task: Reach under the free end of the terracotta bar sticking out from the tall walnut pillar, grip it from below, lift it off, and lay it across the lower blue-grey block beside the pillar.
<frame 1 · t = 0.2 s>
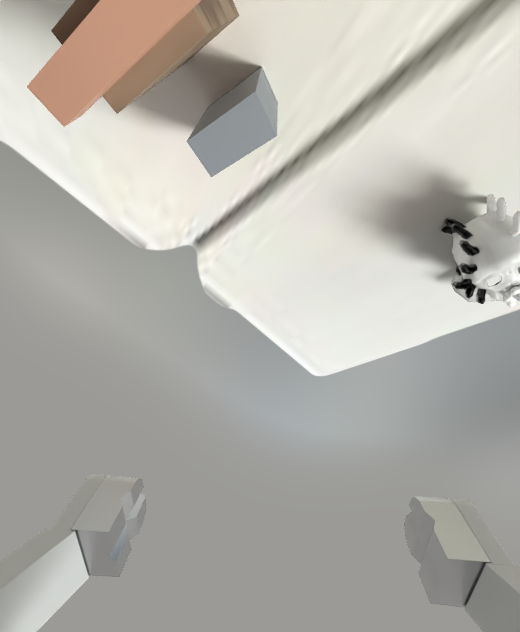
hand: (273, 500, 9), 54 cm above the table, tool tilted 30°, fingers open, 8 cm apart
blue-grey block: (242, 104, 46), on the table
bar: (157, 2, 20), point 26 cm above the table, touching pillar
figurine: (476, 239, 62), on the table
pillar: (196, 14, 39), on the table
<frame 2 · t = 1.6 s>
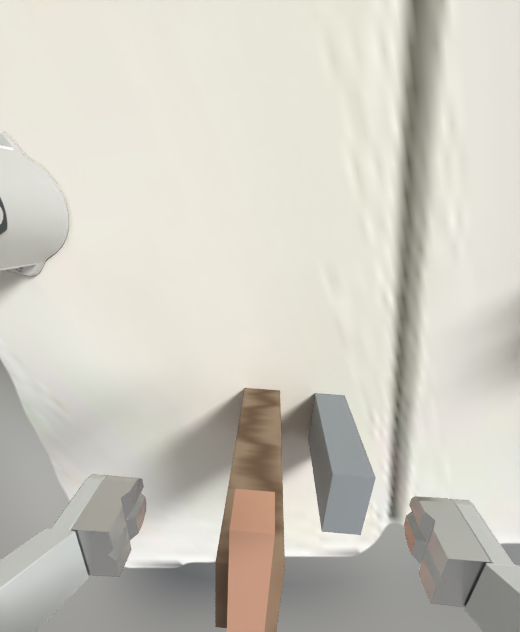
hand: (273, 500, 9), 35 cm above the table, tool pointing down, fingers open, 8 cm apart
blue-grey block: (325, 418, 51), on the table
bar: (249, 579, 25), point 26 cm above the table, touching pillar
pillar: (260, 413, 51), on the table
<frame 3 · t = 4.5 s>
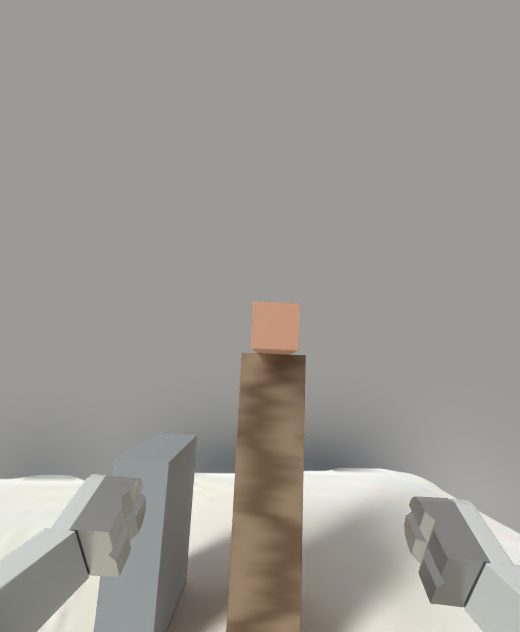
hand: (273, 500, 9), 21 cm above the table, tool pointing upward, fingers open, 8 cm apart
blue-grey block: (145, 617, 28), on the table
bar: (273, 354, 29), point 26 cm above the table, touching pillar
pillar: (262, 627, 28), on the table
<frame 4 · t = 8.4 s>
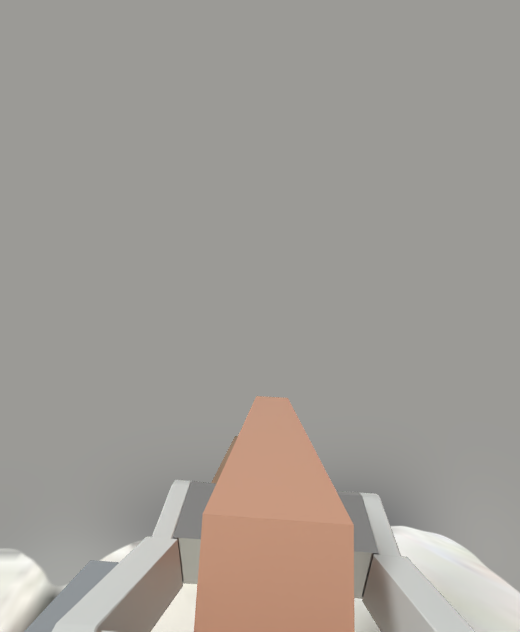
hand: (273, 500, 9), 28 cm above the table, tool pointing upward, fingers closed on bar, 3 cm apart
bar: (270, 474, 16), point 26 cm above the table, touching gripper, pillar
when the fingers open (19 cm above the table, at t = 20.6 s): bar stays where it is, resting on blue-grey block.
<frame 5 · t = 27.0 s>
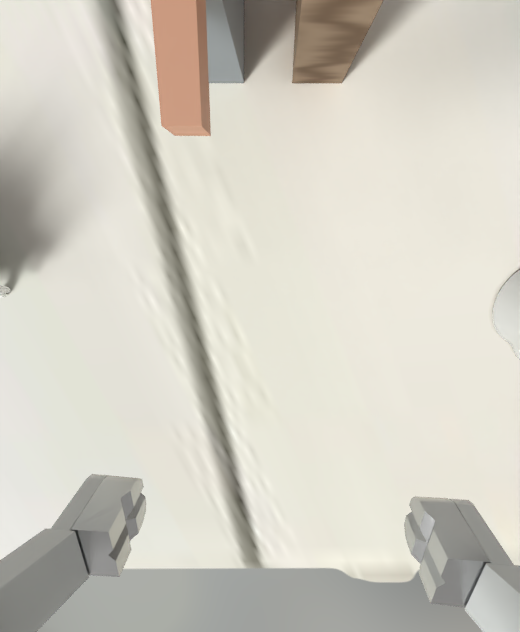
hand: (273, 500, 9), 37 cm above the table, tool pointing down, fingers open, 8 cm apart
blue-grey block: (223, 31, 34), on the table
pillar: (320, 30, 34), on the table
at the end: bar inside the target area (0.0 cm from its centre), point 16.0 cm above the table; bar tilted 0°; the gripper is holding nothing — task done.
